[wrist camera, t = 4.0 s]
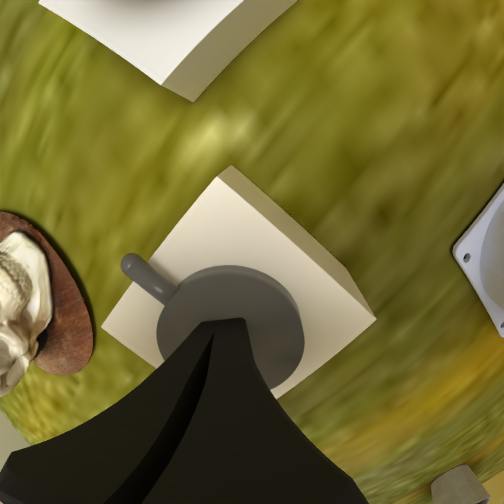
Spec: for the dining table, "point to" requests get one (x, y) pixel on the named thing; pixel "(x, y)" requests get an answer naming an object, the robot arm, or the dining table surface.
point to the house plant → (459, 488)
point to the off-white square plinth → (256, 257)
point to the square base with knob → (174, 34)
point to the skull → (38, 307)
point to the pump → (227, 311)
